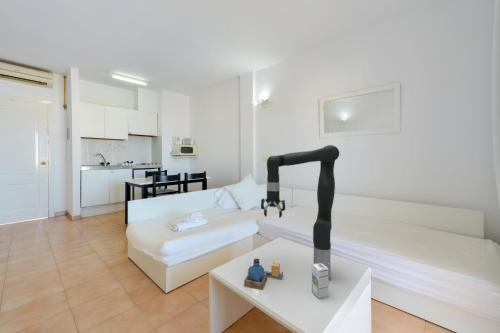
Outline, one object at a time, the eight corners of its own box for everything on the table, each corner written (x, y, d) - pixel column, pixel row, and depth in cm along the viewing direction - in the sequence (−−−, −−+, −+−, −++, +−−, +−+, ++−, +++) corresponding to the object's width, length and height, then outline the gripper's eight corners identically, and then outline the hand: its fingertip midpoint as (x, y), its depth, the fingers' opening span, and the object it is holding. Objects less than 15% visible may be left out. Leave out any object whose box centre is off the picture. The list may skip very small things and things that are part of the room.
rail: (283, 276, 120) (283, 271, 120) (281, 280, 116) (282, 275, 116) (250, 270, 126) (250, 266, 126) (248, 273, 122) (248, 269, 122)
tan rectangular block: (279, 273, 120) (279, 263, 120) (278, 277, 117) (278, 266, 116) (266, 270, 123) (266, 261, 123) (265, 274, 119) (265, 264, 119)
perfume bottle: (258, 286, 109) (259, 263, 109) (248, 282, 112) (248, 260, 112) (264, 280, 115) (264, 258, 114) (254, 276, 118) (254, 256, 117)
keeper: (267, 279, 117) (267, 273, 117) (262, 289, 107) (262, 284, 107) (250, 276, 120) (250, 270, 120) (244, 286, 110) (244, 280, 110)
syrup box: (328, 296, 102) (329, 267, 102) (318, 299, 101) (318, 269, 100) (321, 289, 108) (321, 262, 107) (311, 291, 106) (311, 263, 105)
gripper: (286, 189, 124) (285, 216, 125) (263, 188, 129) (262, 214, 129) (284, 191, 117) (283, 219, 118) (259, 189, 122) (259, 217, 122)
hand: (272, 216), depth 124 cm, fingers open, 8 cm apart
